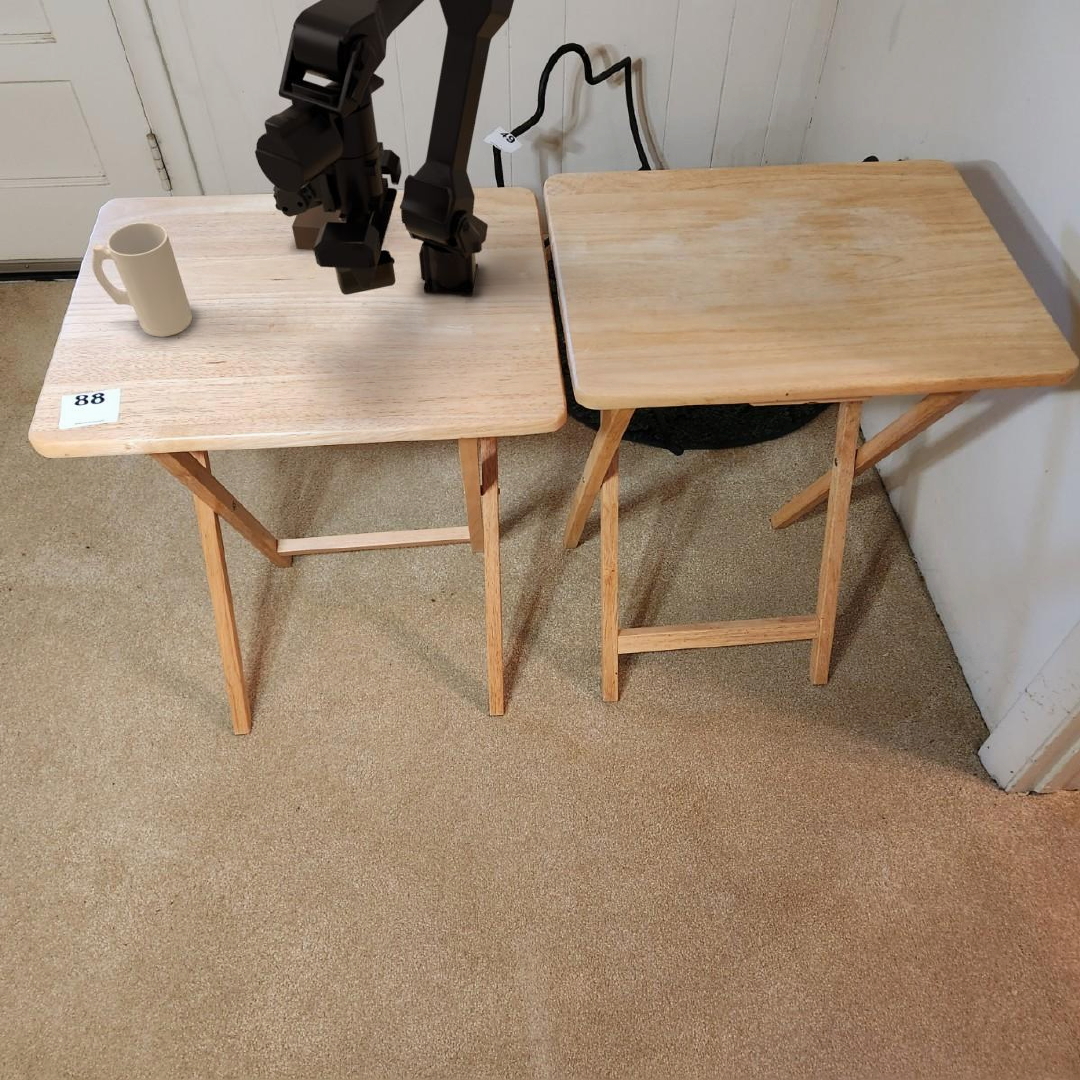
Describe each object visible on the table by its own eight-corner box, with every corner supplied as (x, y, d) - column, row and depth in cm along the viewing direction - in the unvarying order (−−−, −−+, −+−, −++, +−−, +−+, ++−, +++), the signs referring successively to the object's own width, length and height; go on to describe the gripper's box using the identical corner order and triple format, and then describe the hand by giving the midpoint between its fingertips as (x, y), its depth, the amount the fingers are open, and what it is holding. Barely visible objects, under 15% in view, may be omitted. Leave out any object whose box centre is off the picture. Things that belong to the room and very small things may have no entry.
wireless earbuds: (404, 285, 112) (400, 260, 109) (342, 298, 110) (337, 273, 108) (394, 263, 114) (391, 239, 112) (334, 275, 113) (329, 251, 111)
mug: (200, 305, 125) (173, 222, 115) (187, 339, 120) (158, 256, 111) (122, 303, 125) (89, 221, 115) (106, 337, 120) (70, 254, 111)
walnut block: (366, 218, 137) (362, 196, 134) (354, 252, 132) (350, 229, 129) (310, 215, 137) (305, 193, 135) (296, 248, 132) (291, 226, 130)
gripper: (292, 95, 105) (317, 222, 118) (249, 192, 94) (282, 321, 106) (394, 99, 105) (409, 225, 117) (363, 197, 93) (383, 325, 106)
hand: (370, 272), depth 111 cm, fingers closed on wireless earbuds, 5 cm apart
